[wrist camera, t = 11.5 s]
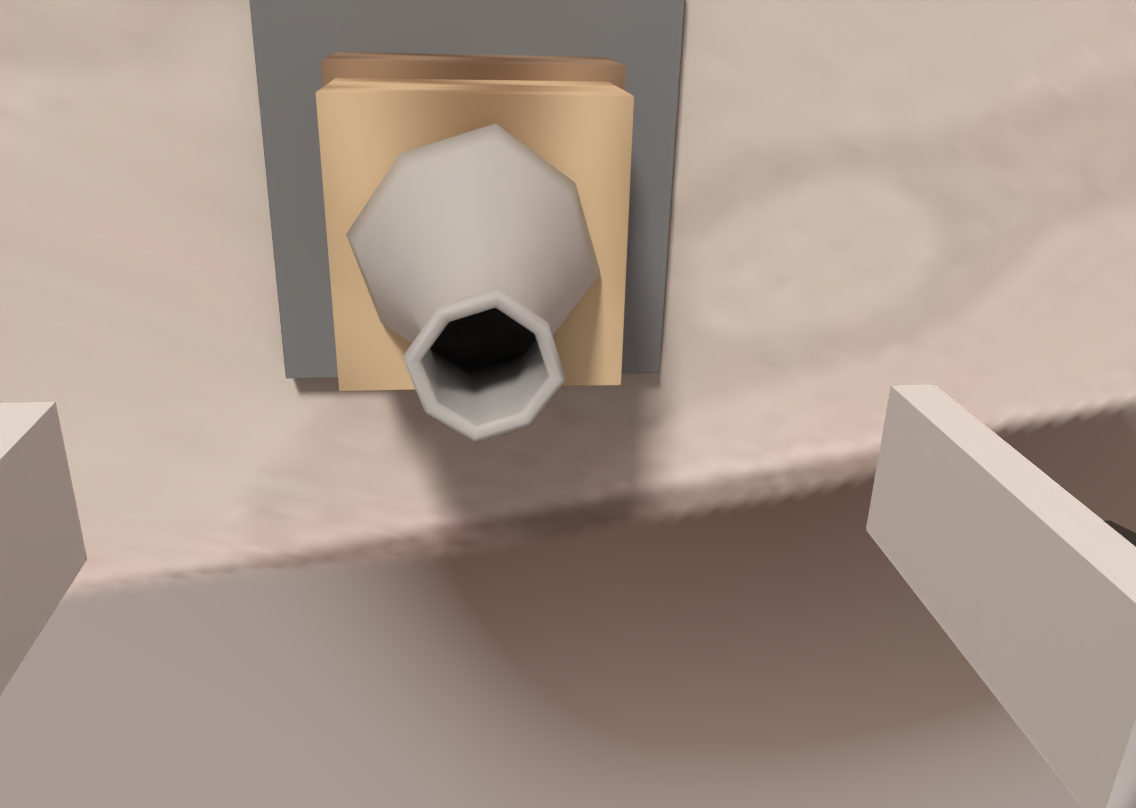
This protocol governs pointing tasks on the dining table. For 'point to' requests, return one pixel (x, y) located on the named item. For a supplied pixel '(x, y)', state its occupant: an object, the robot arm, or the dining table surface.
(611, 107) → the oak block
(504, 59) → the walnut block
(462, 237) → the flask
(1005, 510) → the robot arm
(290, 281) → the grey mat
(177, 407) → the dining table surface
